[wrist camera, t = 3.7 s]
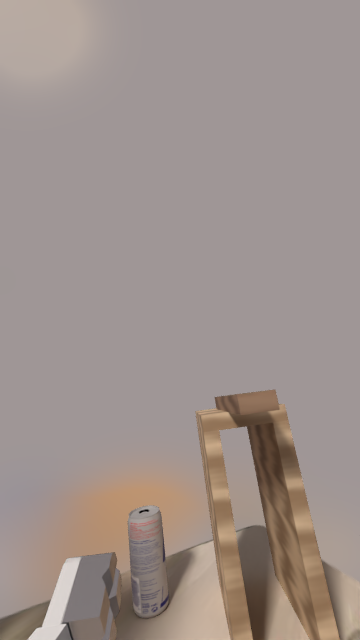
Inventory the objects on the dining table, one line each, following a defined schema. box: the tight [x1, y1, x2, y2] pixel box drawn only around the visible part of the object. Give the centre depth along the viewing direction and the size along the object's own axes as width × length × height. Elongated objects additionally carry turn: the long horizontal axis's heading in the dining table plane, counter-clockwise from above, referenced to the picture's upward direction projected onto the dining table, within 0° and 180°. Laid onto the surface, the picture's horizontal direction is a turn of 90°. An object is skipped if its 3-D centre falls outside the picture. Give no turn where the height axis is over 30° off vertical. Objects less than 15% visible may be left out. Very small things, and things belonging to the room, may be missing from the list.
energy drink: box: [128, 506, 169, 618], centre depth 41 cm, size 5×5×12 cm
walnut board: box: [215, 390, 280, 415], centre depth 37 cm, size 20×4×2 cm, turn 179°
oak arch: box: [196, 404, 340, 640], centre depth 38 cm, size 16×11×26 cm
